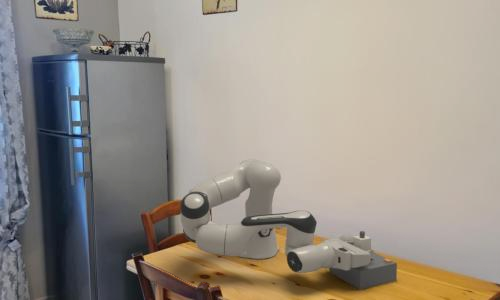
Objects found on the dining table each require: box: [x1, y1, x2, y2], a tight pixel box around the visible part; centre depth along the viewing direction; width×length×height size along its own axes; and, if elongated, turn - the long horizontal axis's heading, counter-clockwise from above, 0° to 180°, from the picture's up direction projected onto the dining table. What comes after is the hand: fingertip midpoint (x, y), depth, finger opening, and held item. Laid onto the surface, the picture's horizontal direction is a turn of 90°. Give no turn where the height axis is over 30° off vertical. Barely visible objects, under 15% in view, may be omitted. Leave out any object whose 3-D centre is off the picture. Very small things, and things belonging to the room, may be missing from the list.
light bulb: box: [339, 233, 354, 242], centre depth 186 cm, size 6×6×10 cm
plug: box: [352, 230, 372, 261], centre depth 168 cm, size 4×4×14 cm
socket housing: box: [328, 252, 398, 290], centre depth 168 cm, size 18×16×7 cm
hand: (363, 247), depth 168 cm, fingers open, 8 cm apart
